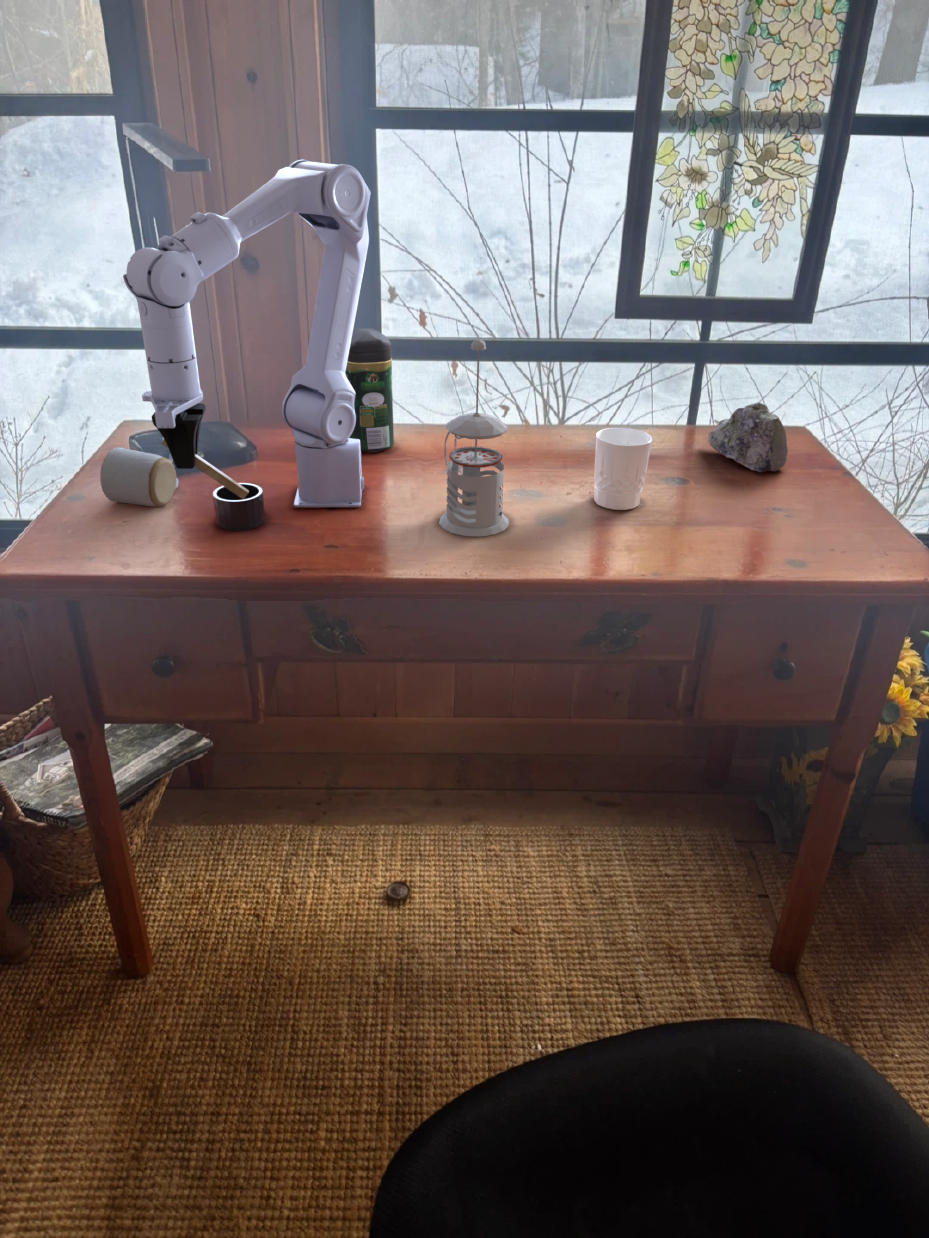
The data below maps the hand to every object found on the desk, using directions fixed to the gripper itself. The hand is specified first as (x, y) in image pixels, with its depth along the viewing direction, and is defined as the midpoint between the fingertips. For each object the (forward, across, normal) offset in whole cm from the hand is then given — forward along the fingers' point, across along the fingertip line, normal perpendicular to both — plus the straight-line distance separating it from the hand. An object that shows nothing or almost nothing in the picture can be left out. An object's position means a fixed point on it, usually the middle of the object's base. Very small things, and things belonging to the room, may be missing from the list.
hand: (186, 465), depth 115 cm
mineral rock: (+10, -29, +84) cm, 89 cm away
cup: (+10, -6, +5) cm, 13 cm away
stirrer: (0, 0, +2) cm, 2 cm away
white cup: (+10, -12, +59) cm, 61 cm away
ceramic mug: (+11, -14, -10) cm, 20 cm away
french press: (+10, -6, +37) cm, 39 cm away
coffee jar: (+10, -37, +22) cm, 44 cm away
